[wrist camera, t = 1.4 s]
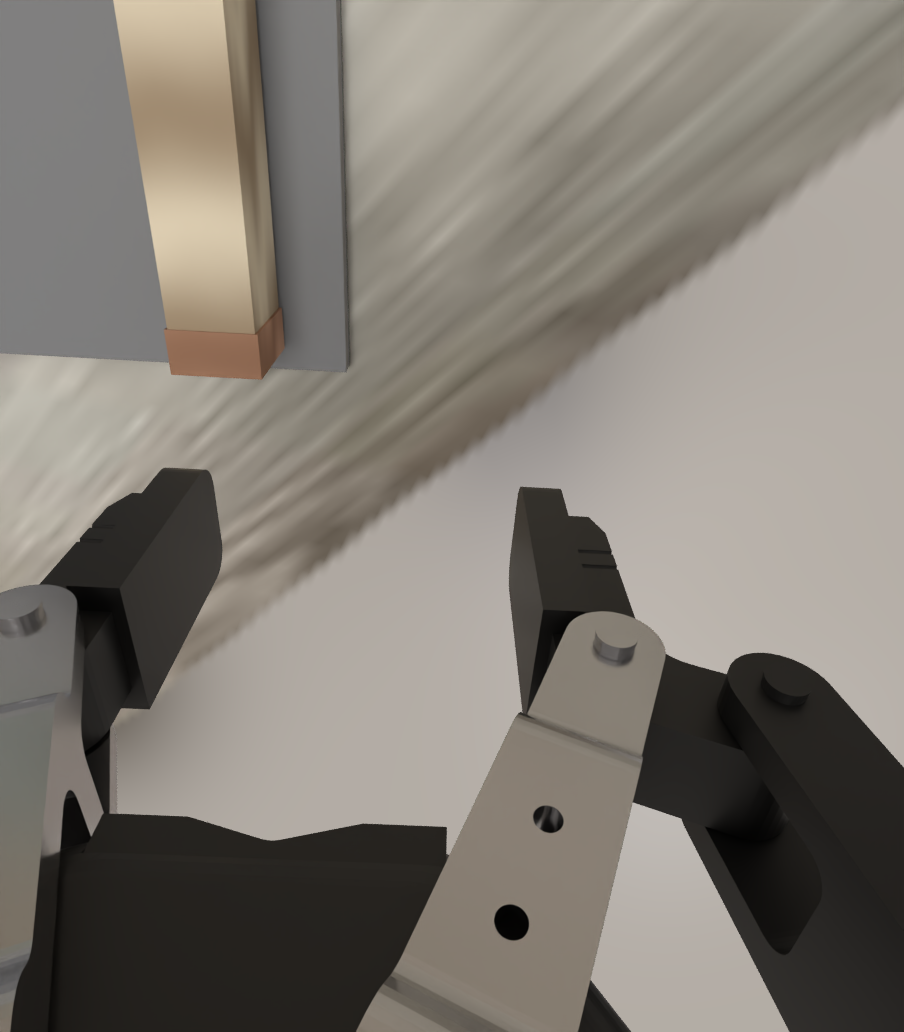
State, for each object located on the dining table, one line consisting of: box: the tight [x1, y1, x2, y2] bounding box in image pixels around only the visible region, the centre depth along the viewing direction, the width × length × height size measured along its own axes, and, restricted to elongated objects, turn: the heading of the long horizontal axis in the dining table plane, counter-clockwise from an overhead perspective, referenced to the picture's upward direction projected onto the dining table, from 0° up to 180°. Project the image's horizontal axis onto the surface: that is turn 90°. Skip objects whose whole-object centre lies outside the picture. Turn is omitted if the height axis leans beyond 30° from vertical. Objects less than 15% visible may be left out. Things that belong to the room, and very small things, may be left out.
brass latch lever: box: [113, 0, 285, 380], centre depth 21 cm, size 19×4×4 cm, turn 177°
